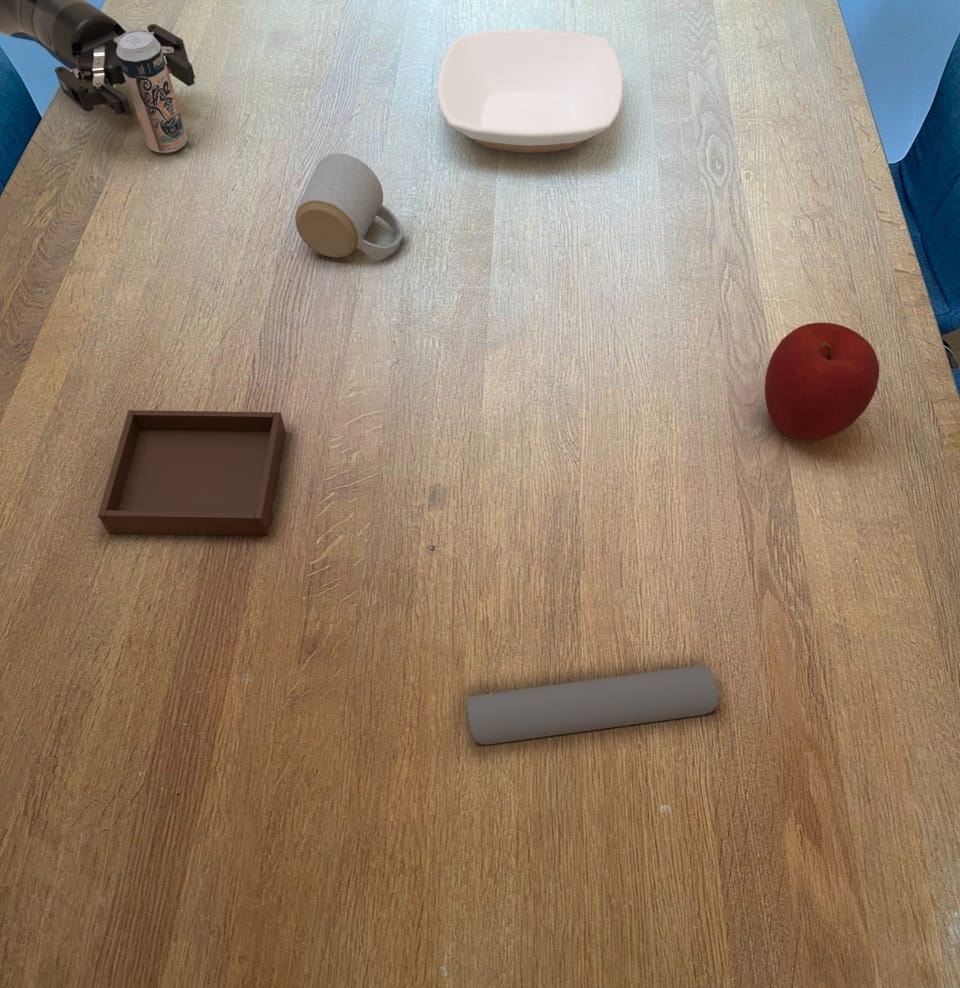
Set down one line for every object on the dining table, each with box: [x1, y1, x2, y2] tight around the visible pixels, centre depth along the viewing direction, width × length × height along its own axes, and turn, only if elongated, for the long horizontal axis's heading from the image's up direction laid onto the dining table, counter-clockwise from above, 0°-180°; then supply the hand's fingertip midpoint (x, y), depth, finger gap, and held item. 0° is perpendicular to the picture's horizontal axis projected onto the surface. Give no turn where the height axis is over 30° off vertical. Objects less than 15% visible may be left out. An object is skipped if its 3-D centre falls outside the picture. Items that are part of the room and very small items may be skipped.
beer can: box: [116, 29, 188, 154], centre depth 107 cm, size 5×5×12 cm
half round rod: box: [465, 664, 719, 745], centre depth 73 cm, size 4×20×2 cm, turn 98°
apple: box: [764, 322, 880, 441], centre depth 85 cm, size 10×10×10 cm
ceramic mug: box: [294, 153, 404, 258], centre depth 100 cm, size 11×8×8 cm
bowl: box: [437, 28, 624, 154], centre depth 112 cm, size 22×22×5 cm
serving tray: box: [97, 409, 287, 537], centre depth 85 cm, size 14×12×3 cm
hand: (159, 92), depth 106 cm, fingers open, 8 cm apart
